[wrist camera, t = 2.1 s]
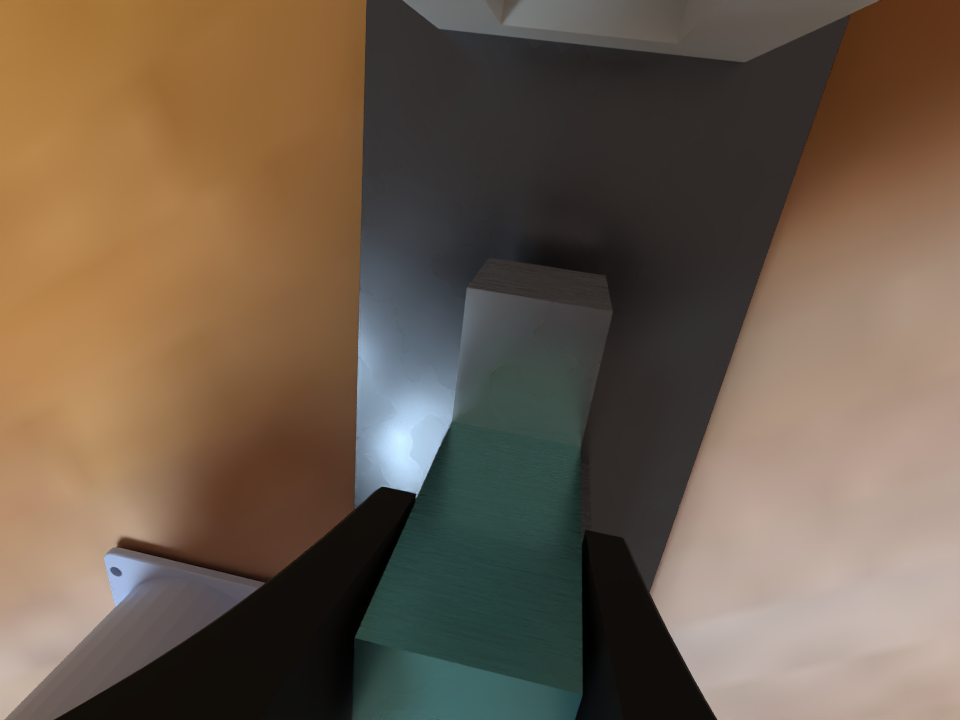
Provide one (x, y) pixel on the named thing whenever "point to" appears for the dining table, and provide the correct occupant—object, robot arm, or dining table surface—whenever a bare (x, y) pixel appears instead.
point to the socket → (646, 22)
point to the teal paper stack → (496, 518)
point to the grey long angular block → (570, 233)
